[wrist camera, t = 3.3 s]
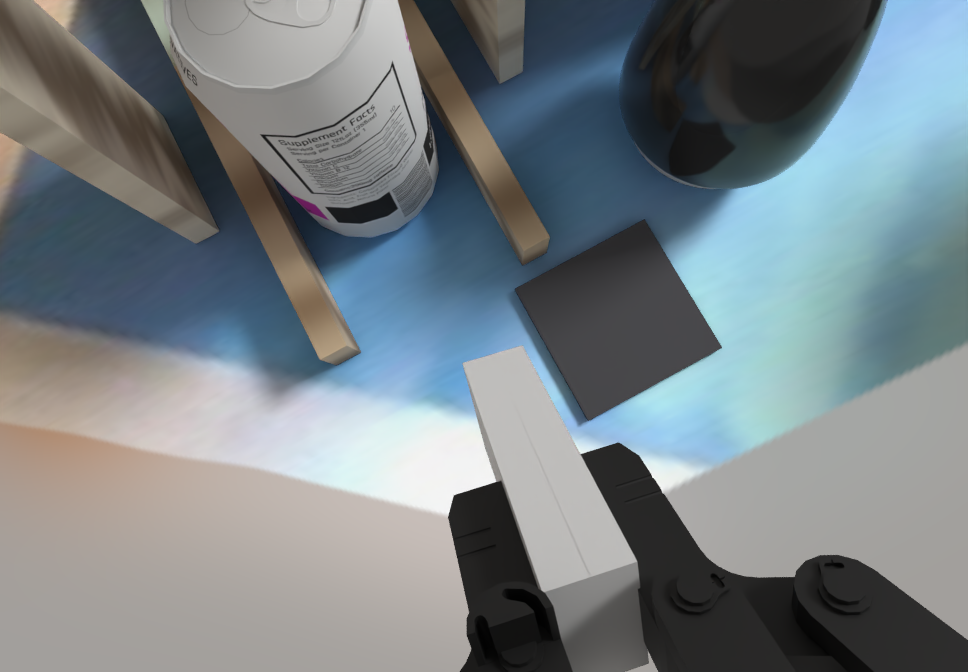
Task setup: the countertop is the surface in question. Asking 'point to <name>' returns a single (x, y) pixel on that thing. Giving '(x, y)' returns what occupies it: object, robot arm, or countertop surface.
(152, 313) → the countertop surface
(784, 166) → the pump dispenser
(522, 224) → the channel rails
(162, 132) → the tall beige pillar block
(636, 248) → the mat
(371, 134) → the supplement can
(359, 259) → the countertop surface
